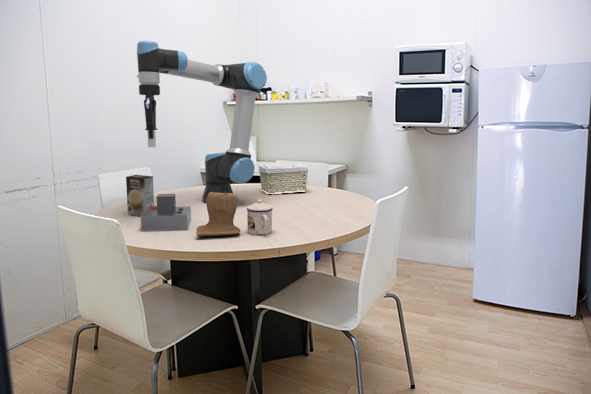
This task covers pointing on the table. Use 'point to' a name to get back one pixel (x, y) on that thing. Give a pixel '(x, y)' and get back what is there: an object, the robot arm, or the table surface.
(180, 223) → the socket plate
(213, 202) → the brown wooden upright piece
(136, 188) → the coffee box
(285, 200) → the table surface
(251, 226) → the teacup with lid
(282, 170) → the storage basket
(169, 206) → the plug
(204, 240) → the table surface
